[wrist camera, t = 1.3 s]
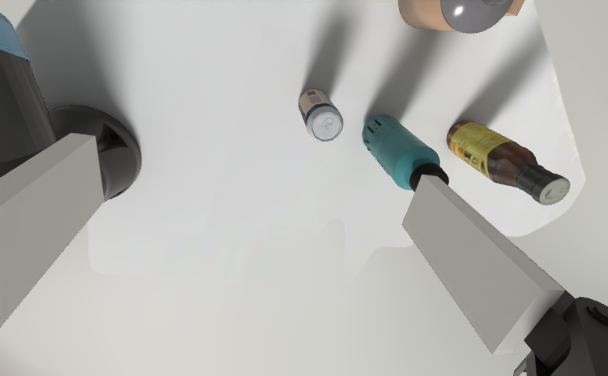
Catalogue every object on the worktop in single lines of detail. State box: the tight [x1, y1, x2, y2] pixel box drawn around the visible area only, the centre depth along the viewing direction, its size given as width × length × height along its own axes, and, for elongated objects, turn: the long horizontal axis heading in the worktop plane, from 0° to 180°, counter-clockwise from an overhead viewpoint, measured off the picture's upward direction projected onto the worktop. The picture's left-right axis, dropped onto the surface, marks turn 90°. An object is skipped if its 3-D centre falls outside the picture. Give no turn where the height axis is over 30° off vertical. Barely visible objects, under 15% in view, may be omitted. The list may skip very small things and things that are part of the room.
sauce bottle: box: [447, 121, 570, 205], centre depth 46 cm, size 6×6×20 cm
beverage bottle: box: [362, 115, 449, 192], centre depth 44 cm, size 6×7×20 cm
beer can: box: [298, 89, 343, 142], centre depth 44 cm, size 5×5×12 cm
